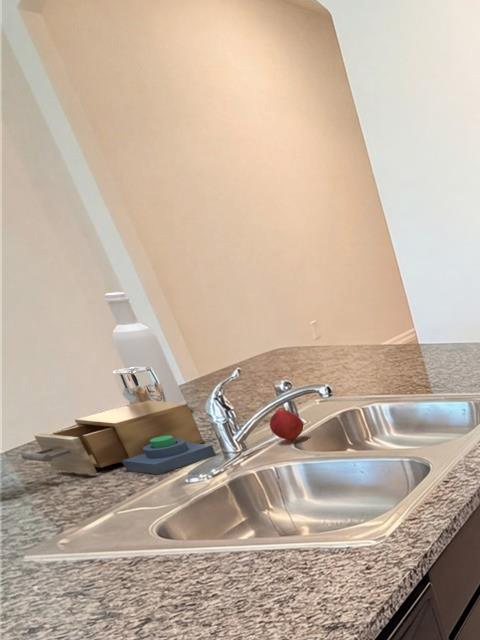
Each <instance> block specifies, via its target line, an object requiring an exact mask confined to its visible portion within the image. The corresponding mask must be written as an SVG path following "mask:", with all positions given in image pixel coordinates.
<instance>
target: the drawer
mask: <svg viewBox="0 0 480 640" xmlns="http://www.w3.org/2000/svg"><path fill="white" fill-rule="evenodd" d="M33 437H34V438H35V440H36V442H37V444H38V446H39V447H40V449H41V450H37V451H34V452H28V451H25V452H22V453H21V455H20V457H21V458H22V459H23V460H25V461H26V460H27V461H35V462H44V463H49V465H50V467H51V469H52V470H53V471H62V472H68V473H75V474H77V473H78V474H85V475H92V474H95V473H97V470H96V468H105V467H108V466H111V465H113V464H114V465H115V464H119V463H118V462H121V461H122V460H126V459H129V456H128V454H127V452H126V450H125V448H124V446H123V444H122V442H121V440H120V438H119V436H118V434H117V432H116V429H115V427H112V426H102V425H91V424H83V425H80V426H77V425H76V426H73V427H68V428H65V429H61V430H57V431H54V432H53V431H52V434H48V433H38V434H34V435H33Z"/></svg>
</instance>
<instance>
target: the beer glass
mask: <svg viewBox="0 0 480 640" xmlns="http://www.w3.org/2000/svg"><path fill="white" fill-rule="evenodd" d="M112 374H113V376H114V379H115V382H116V385H117V387H118V389H119V392H120V393H121V395H122V397H123V400H125V401H126V403H127V404H128V406H129V405H133V404H137V403H141V402H144V401H160V402H166V399H165V395H164V391H163V388H162V386H161V383H160V381H159V379H158V378H157V376H156V374H155V372H154V371H153V369H152V367H151V366H137V367H129V368H125V367H124V368H119V369H115V370H114V371H112Z"/></svg>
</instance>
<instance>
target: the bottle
mask: <svg viewBox="0 0 480 640" xmlns="http://www.w3.org/2000/svg"><path fill="white" fill-rule="evenodd" d="M103 296H104V298H105V303H107V305H108V307H109V309H110V311H111V313H112V315H113V318H114V320H115V321H116V324H117V325H116V327H115V328H114V329H113V330H112V336H111V337H112V342H113V344H114V347H115V349H116V351H117V353H118V356H119V357H120V360H121V362H122V364H123V366H124V368H129V367H137V366H151V367H152V369H153V371H154V372H155V374H156V376H157V378H158V379H159V381H160V383H161V386H162V388H163V391H164V395H165V399H166V402H173V403H185V404H187V405H188V403H187V401H186V399H185V397H184V394H183V393H182V390H181V389H180V386H179V384H178V381H177V379H176V377H175V375H174V373H173V370H172V369H171V365H170V363H169V361H168V359H167V357H166V354H165V352H164V349H163V347H162V346H161V343H160V341H159V339H158V336H157V335H156V333H155V332H154V331H153V330H152V329H151V328H150V327H149V326H146V325H145V324H143V323H140V322H139V320H138V319H137V316H136V314H135V311H134V309H133V307H132V305H131V303H130V298H129V297H128V296H127V294H126V292H122V291H119V292H118V291H115V292H107V293H105V294H104V295H103Z"/></svg>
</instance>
